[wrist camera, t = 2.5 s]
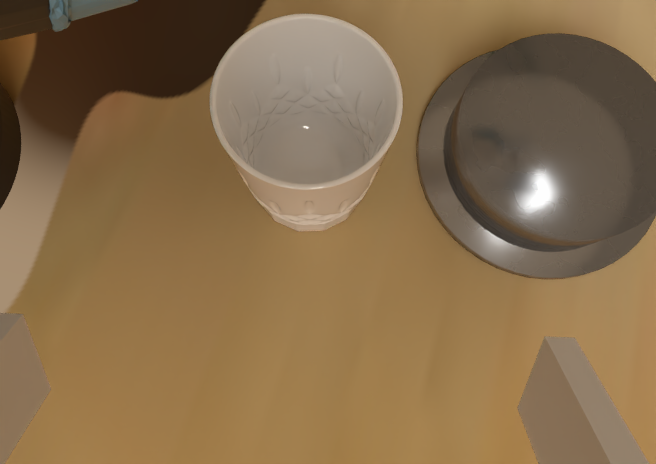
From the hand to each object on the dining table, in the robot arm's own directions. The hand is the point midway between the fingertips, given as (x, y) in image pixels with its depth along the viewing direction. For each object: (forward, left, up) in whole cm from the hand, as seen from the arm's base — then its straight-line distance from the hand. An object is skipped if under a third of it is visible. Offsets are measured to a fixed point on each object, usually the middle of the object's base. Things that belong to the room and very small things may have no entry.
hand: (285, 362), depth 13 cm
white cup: (-6, +8, -15) cm, 18 cm away
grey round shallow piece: (+4, +18, -15) cm, 24 cm away
